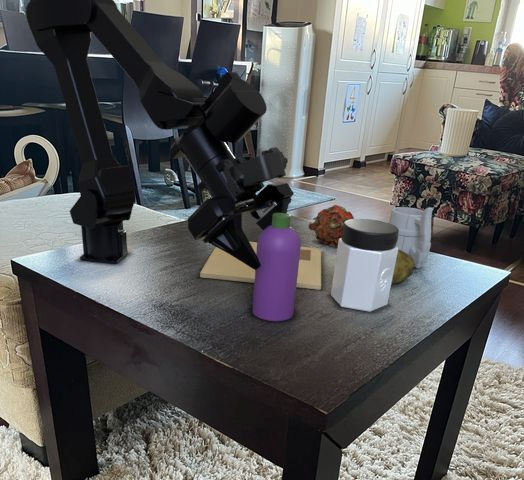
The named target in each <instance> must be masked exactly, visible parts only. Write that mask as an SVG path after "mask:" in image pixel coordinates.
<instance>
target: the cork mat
mask: <svg viewBox="0 0 524 480" xmlns="http://www.w3.org/2000/svg"><path fill="white" fill-rule="evenodd" d="M249 242H250V244H251V246H252V248H253V250H254V251H255V253H256V252H257V241H249ZM199 277H200V278H204V279H214V280H223V281H233V282H243V283H252V284H254V281H255V270H254V269H252V268H251V267H249V266H248V265H246V264H244V263H243V262H241V261H240V260H238V259H236V258H235V257H233V256H231V255H230V254H228V253H226V252H225V251H223V250H221V249H219V248H217V247H215V246H214V249H213V250H212V252H211V254H210V256H209V257H208V259H207V260H206V262H205V264H204V265H203V267H202V269H201V271H200V272H199ZM296 288H301V289H308V290H309V289H310V290H318V291H319V290H322V248H318V247H308V246H301V249H300V258H299V267H298V276H297V285H296Z"/></svg>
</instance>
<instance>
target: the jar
mask: <svg viewBox="0 0 524 480" xmlns="http://www.w3.org/2000/svg"><path fill="white" fill-rule="evenodd" d="M398 233H399V229H398V228H397V227H396V226H394V225H392V224H390V223H389V222H387V221H384V220H378V219H372V218H371V219H370V218H354V219H351V220H347V221H346V222H345V223H344V226H343V233H342V238H340V239H339V241H338V246H337V247H336V248H337V249H336V255H335V262H334V270H333V276H332V283H331V291H330V296H331V298H333V299H334V300H335V302H336V303H337V304H338V305H339V306H340V307H341V308H346V309H350V310H357V311H364V312H368V313H371V312H373V311H376V310H378V309H380V308H383V307H386V306H387V305H388V303H389V297H390V293H391V292H390V291H391V289H392V284H391V283H392V278H393V273H394V268H395V263H396V258H397V253H398V247H397V246H396V243H397V240H398Z"/></svg>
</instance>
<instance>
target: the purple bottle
mask: <svg viewBox="0 0 524 480" xmlns="http://www.w3.org/2000/svg"><path fill="white" fill-rule="evenodd" d="M290 225H291V214H289V213H287V214H286V213H274V214H273V216H272V225H270V226H268V227H267V228H265V229H264V230H262V231H261V232H260V234H259V235H258V239H257V241H256V242H257V252H256V255H257V257H258V259H259V261H260V264H261V266H260V267H259V268H258V269H256V270H255V281H254V283H253V295H252V310H251V311H252V314H253V315H254V316H255V317H257V318H259V319H261V320H265V321H269V322H283V321H287V320H290V319H291V318H292V317H293V316H294V312H295V303H296V294H297V287H296V285H297V276H298V267H299V258H300V249H301V247H302V245H301V244H302V243H301V239H300V236H299V235H298V232H297V231H296V230H295V229H294V228H292V227H291V226H290Z"/></svg>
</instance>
